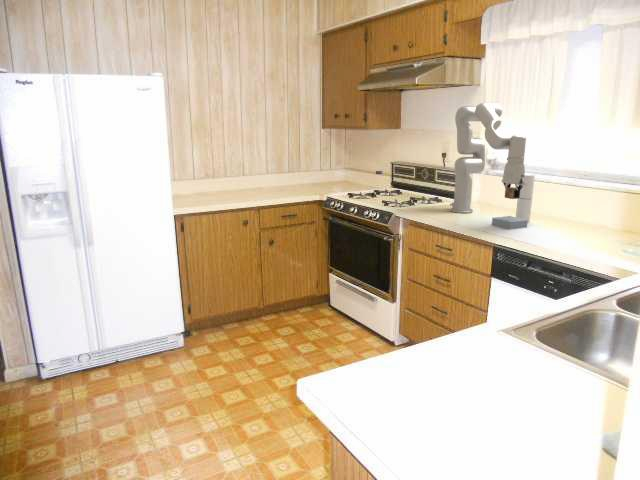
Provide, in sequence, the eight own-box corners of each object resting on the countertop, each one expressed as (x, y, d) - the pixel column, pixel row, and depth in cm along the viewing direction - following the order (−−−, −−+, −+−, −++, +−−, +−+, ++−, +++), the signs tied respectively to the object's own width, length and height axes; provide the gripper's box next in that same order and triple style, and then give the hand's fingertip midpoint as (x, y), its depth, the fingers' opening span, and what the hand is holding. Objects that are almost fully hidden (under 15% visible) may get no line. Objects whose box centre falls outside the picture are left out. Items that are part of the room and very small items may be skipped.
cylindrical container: (512, 220, 268) (517, 174, 262) (522, 219, 270) (527, 173, 264) (522, 223, 261) (527, 175, 255) (532, 222, 264) (537, 175, 258)
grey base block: (491, 225, 258) (492, 217, 257) (508, 223, 263) (509, 215, 262) (509, 230, 247) (510, 222, 246) (526, 227, 253) (527, 220, 252)
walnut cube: (504, 197, 253) (505, 187, 251) (511, 196, 255) (512, 187, 254) (512, 199, 248) (513, 189, 247) (519, 198, 250) (520, 188, 249)
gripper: (497, 159, 253) (494, 195, 257) (524, 162, 238) (520, 199, 242) (507, 159, 256) (504, 194, 260) (535, 161, 241) (531, 198, 246)
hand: (512, 196), depth 251 cm, fingers closed on walnut cube, 5 cm apart
